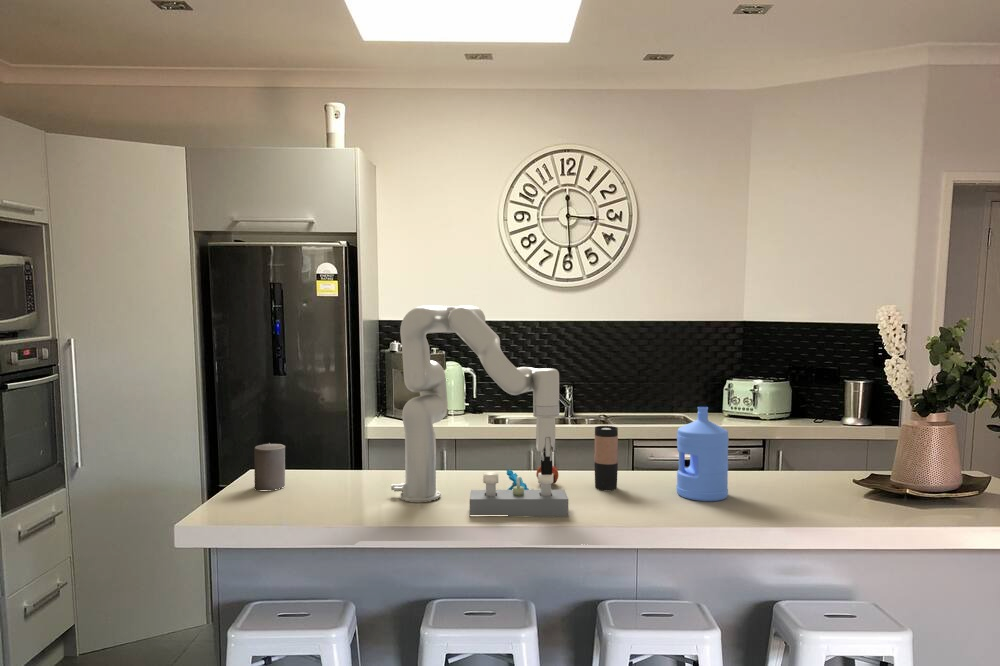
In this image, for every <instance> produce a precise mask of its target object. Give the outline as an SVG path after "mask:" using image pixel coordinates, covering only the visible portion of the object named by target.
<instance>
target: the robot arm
mask: <svg viewBox="0 0 1000 666" xmlns="http://www.w3.org/2000/svg"><path fill="white" fill-rule="evenodd" d="M399 333H400V342H401V351H402V354H401V355H402V367H403V368H402V369H403V371H402V372H403V381H404V385H405V387H406V389H407V390H408V391H410V392H413V393H419V396H414V397H412V398H410V399H409V400H408V401H407V402H406V403H405V404H404V406H403V407H402V418H401V419H402V423H403V429H404V448H405V451H404V453H405V454H404V455H405V456H404V458H405V459H404V461H405V462H404V463H405V465H404V467H405V469H404V470H405V471H404V473H405V475H404V477H405V481H404V482H401V483H400V484H398V483H391V486H390V487H391V491H393V492H401V493H400V495H399V496H400V497H401V498H400V499H401V500H402V499H403V500H402V501H404V500H405V501H404V502H408V501H410V502H409V503H426V502H425V501H429V502H432V501H431V500H434V501H436V500H435V499H437V500H438V498H439V497H440V496H441V497H442V494H441V493H442V492H441V491H440V490H437V441H436V440H437V439H436V433H435V429H434V425H433V424H435V423H436V424H437V423H439V422H441V421H442V420H443V419H444V418H445V417H446V416H447V413H448V408H449V407H448V391H447V380H446V378H447V377H446V373H445V370H444V368H443V367H442V365H441V364H440V363H439V362H437V361H435V360H431V355H430V354H431V353H430V352H431V351H430V344H429V342H428V339H427V334H437V333H440V334H441V333H450V334H453V333H455V334H456V335H457V336H458V337H459V338H460V339H461V340H462V341H463V343H464V344H466V345H467V346H468V347H469V348H470V349H471V350H472V351H473V352H474V354H476V355H477V357H478V359H479V361H480V363H481V365H482V367H483V368H484V370H485V372H486V374H488V376H489V377H490V378H491V379H492V380H493V381H494V382H495V383H496V384H497V386H498V387H499V388H500V389H502V390H503V391H504V392H506V393H507V394H509V395H512V396H518V395H521V394H525V393H528V392H532V395H533V396H532V399H533V400H532V401H533V403H532V406H533V407H532V409H533V418H536V426H535V427H536V429H535V430H536V432H535V433H536V434H535V435H536V436H535V445H536V446H535V447H536V450H537V452H538V453H540V452H541V453H540V455H541V457H540V458H541V460H540V466H541V474H542V475H552V466H553V457H552V456H553V455H552V454H553V452H555V449H556V418H559V417H560V372H559V370H558V369H556V368H553V367H552V368H551V367H550V368H549V367H548V368H547V367H545V368H535V367H529V366H520V367H519V366H518V367H517V366H515V365H514V364H513V363H512V362H511V361H510V360H509V358H508V357H507V356H506V355H505V354H504V352H503V351H502V348H501V339H500V337H499V335H498V334H497V333H496V332H495V331H494V330H493V329H492V328H491V327H490V326H489V325H488V324H487V323H486V316H485V314H484V311H483V310H482V309H481V308H479V307H478V306H475V305H459V306H454V305H453V306H449V305H448V306H447V305H446V306H445V305H444V306H443V305H421V306H416V307H414V308H413V309H411V310H409V311H408V312H407V313H406V315H405V316H404V317H403V319H402V320H401V323H400V330H399ZM441 497H440V498H441ZM440 498H439V499H440ZM411 501H412V502H411Z"/></svg>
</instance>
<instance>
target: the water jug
mask: <svg viewBox="0 0 1000 666" xmlns="http://www.w3.org/2000/svg"><path fill="white" fill-rule="evenodd" d="M708 410H709V407H708V406H697V419H696V420H694V421H691V422H689V423H687V424H685V425H682V426H680V427H678V428H677V434H676V441H677V446H676V447H677V448H676V449H677V451H678V470H677V471H676V478H677V479H676V493H677V494H678V495H679V496H680V497H682V498H684V499H687V500H692V501H698V502H718V501H723V500H725V499H727V498H728V496H729V489H728V481H729V478H728V476H729V475H728V474H729V473H728V471H729V440H730V439H729V438H730V437H729V431H728V430H727V429H726V428H724V427H722V426H720V425H718V424H716V423H714V422H711V421H710V420H709V419H708V418H709V417H708V416H709V412H708ZM685 455H689V465H688V467H685V466H686V465H685V463H686V462H685V459H686V458H685Z"/></svg>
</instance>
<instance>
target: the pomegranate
mask: <svg viewBox="0 0 1000 666" xmlns="http://www.w3.org/2000/svg"><path fill="white" fill-rule="evenodd" d="M539 473H541V465H540V466H538V468H537V470H536V475H535V476H536V478H537V479H538V474H539ZM552 473H553V483H552V485H555V484H556V483H557V481H558V479H559V470H558V468H557V467H556V466H554V465H552Z"/></svg>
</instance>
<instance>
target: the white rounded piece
mask: <svg viewBox="0 0 1000 666" xmlns="http://www.w3.org/2000/svg"><path fill="white" fill-rule="evenodd" d="M537 480H538V484H540V490H541V496H551V490H552V485H553V484H552V483H553V473H552V475H542V474H541V473H539V474H538V478H537ZM551 484H552V485H551Z"/></svg>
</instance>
